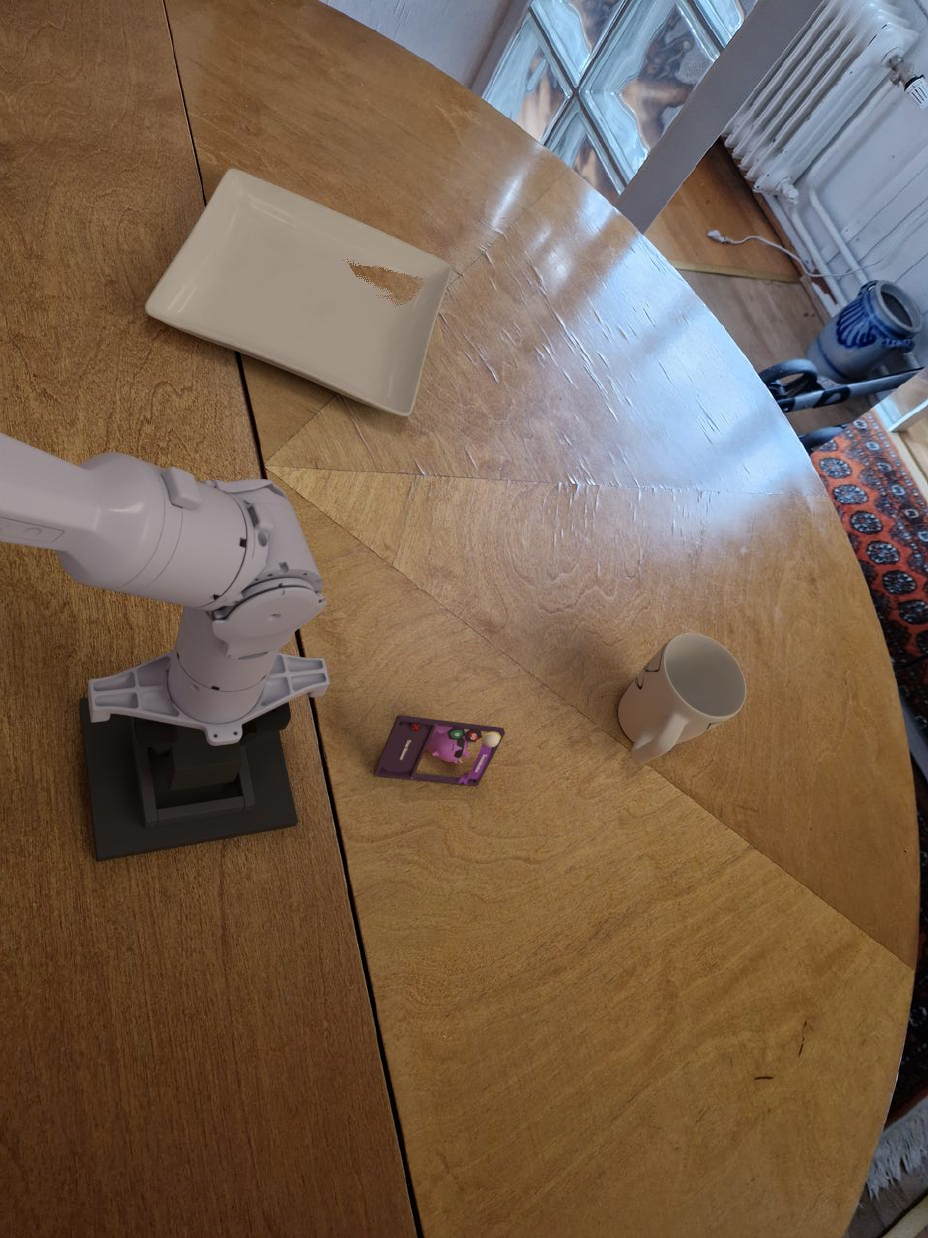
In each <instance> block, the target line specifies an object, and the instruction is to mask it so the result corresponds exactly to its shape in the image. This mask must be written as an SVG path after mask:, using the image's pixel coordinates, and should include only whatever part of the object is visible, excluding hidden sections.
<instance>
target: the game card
mask: <svg viewBox="0 0 928 1238" xmlns="http://www.w3.org/2000/svg"><path fill="white" fill-rule="evenodd" d="M482 732H485V733H484V734H482ZM505 734H506V732H505V728H504V727H498V726H491V725H482V724H476V723H475V724H474V723H467V722H460V721H459V722H458V721H452V720H451V721H450V720H443V719H436V718H435V719H434V718H426V717H418V716H409V715H402V714H399V715H397V716H396V717H395V720H394V722H393V724H392V727H391V730H390V731H389V734H388V737H387V739H386V742H385V744H384V746H383V748H382V751H381V753H380V756H379V759H378V761H377V763H376V766H375V768H374V776H375V777H379V778H380V777H381V778H388V779H389V778H390V779H400V780H410V781H419V782H430V783H440V784H449V785H460V786H468V787H469V786H471V787H477V786H479V784H480V783H481V781H482V779H483V777H484V775H485V773H486V771H487V769H488V768H489V765H490V764H491V761H492V760H493V757H494V755H495V754H496V752H497V750H498V748H499V746H500V744H501V742H502V740H503V738H504V737H505ZM479 740H480V741H481V746H480V749H479V751H478V755H477V757H476V758H475V759H476V760H475V762H474V763H473V766H472V767H471V769H470V771H469V773H468V774H462V775H461V777H453V776H443V775H434V774H424V773H416V772H417V770H418V768H419V765H420V763H421V761H422V759H423V756H424V754H425V752H426V751H428V752H429V753H431V756H433V757H436V758H438V759H440V760H442V761H444V762H448V763H452V762H453V763H455V764H457V763H458V762H460V763H461V764H462V763H464V762H463V761H462V758H463V756H464V757H466V758H468V757H469V758H472V757H473V755H472V754H470V753H469V752H467V750H468V746H469V744H473V743H476V742H478V741H479Z"/></svg>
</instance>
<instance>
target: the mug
mask: <svg viewBox="0 0 928 1238" xmlns="http://www.w3.org/2000/svg"><path fill="white" fill-rule="evenodd" d="M746 697H747V683H746V678H745V675H744V672H743V670H742V668H741V666H740V664H739V662H738V661H737V659H736V657H735V656H734V655H733V654H732V653H731V652H730V651H729V650H728V648H727V647H726V646H724V645H723V644H721V643H720V642H719V641H718V640H716V639H714V638H712V637H710V636H708V635H706V634H703V633H699V632H690V631H689V632H683V633H679V634H677V635H675V636H673V637H672V638H670V639H669V640H668V641H667V642H666V643H665V644H664V645H663V646H662V647H661V648H660V649H659V650H658V651H657V652H656V653H655V654H654V655H653V656H652V658H650V660H649V661H648V662H646V664H645V665H644V666H643V667H642V668H641V670H640V671H639V672H638V674H637V675H636V676H635V678H634V679H633V681H632V682H631V684H630V685H629V687H628V688H627V690H626V691H625V692H624V694H623V695H622V697H621V698H620V701H619V703H618V708H617V716H618V722H619V725H620V727H621V729H622V731H623V733H624V734H625V736H626V737H627V738H628V739H629V741H631V742H632V743H633V745H632V748H631V750H630V754H629V756H630V758H631V760H632V761H634V762H635V763H637V764H638V765H644V764H647V763H649V762H651V761H653V760H655V759H658V758H660V757H661V756H664V755H665V754H666V753H668V752H669V751H670V750H672V749H673V747H674V746H676V745H679V744H682V743H684V742H687V741H690V740H692V739H694V738H696V737H699V736H701V735H703V734H705V733H706V732H709V731H711V730H712V729H714V728H716V727H717V726H720V725H721V724H723V723H725V722H726V721H728V720H730V719H731V718H733V717H734V716H736V715H738V713H739V712H740V711H741V710H742V708H743V705H744V704H745V702H746Z"/></svg>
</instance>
